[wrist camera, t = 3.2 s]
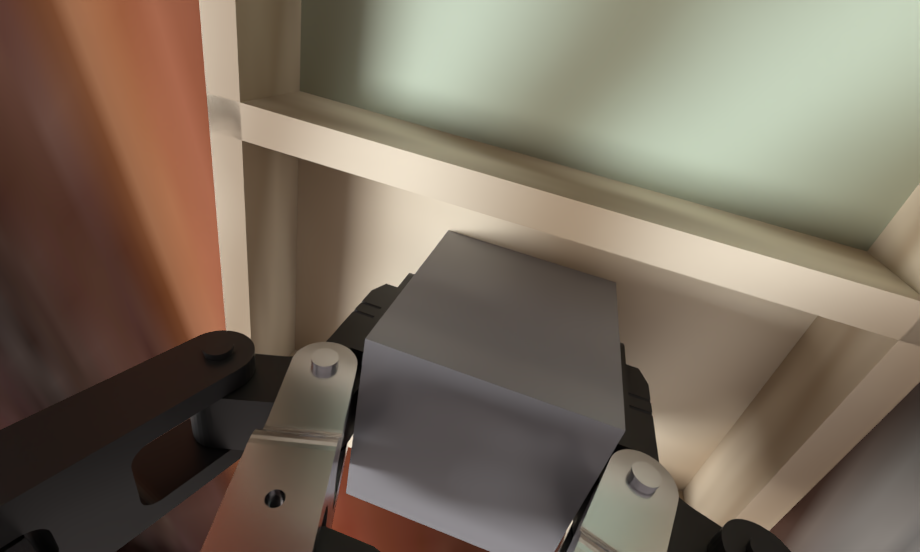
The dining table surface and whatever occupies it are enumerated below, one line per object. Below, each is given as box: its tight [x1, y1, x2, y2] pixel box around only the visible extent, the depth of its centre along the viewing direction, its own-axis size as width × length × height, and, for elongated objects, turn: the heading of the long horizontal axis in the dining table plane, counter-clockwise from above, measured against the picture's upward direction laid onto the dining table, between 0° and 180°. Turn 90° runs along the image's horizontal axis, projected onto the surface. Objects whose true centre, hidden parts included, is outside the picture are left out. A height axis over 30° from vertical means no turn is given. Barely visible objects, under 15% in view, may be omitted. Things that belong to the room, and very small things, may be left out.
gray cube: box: [346, 230, 626, 552], centre depth 11 cm, size 4×4×5 cm
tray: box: [199, 0, 920, 532], centre depth 10 cm, size 15×18×3 cm
